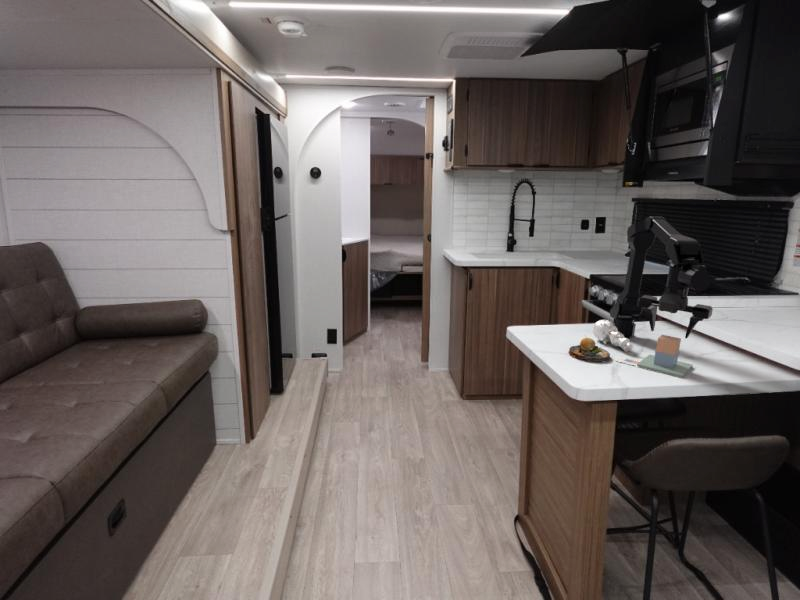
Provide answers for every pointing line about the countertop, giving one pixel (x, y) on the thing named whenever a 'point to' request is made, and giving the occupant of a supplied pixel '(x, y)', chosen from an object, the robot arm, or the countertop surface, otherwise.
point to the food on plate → (589, 351)
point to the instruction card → (629, 361)
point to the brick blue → (665, 359)
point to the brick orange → (668, 345)
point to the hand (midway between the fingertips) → (669, 334)
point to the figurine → (610, 334)
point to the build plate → (678, 370)
